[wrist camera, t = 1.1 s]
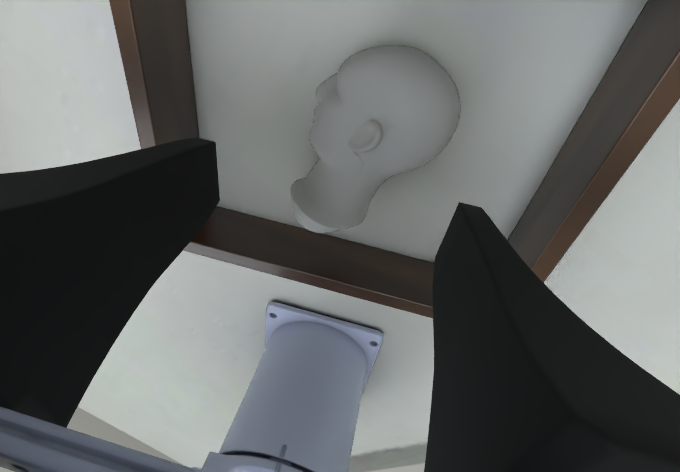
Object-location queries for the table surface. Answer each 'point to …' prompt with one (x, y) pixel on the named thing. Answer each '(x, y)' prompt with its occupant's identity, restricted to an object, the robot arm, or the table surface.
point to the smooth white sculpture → (373, 131)
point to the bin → (382, 266)
